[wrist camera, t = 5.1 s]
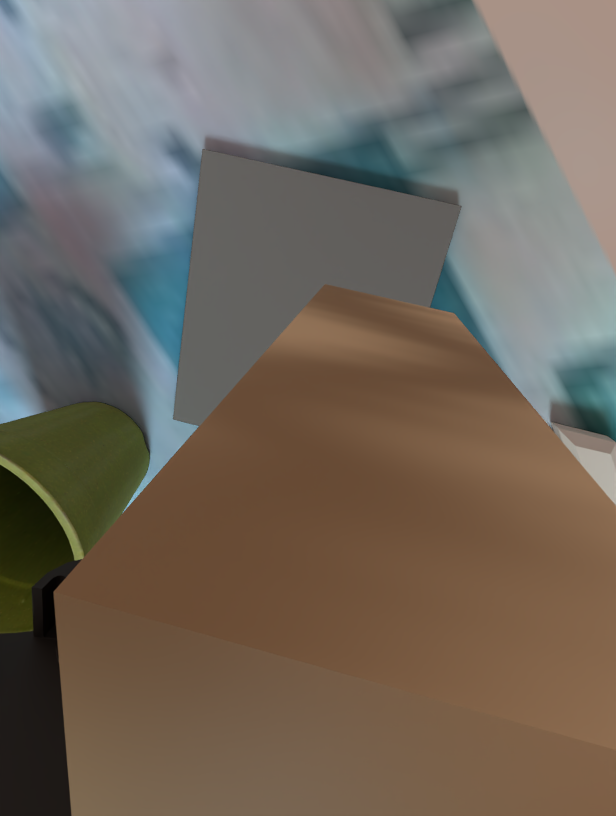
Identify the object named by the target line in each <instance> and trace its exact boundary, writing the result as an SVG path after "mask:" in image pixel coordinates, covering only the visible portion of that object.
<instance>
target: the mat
mask: <svg viewBox="0 0 616 816" xmlns="http://www.w3.org/2000/svg"><path fill="white" fill-rule="evenodd" d="M460 210H461V206H459V205H454V204H450V203H445V202H441V201H436V200H432V199H427V198H423V197H418V196H414V195H409V194H405V193H400V192H396V191H391V190H386V189H382V188H377V187H373V186H368V185H364V184H359V183H355V182H350V181H346V180H341V179H337V178H332V177H328V176H323V175H318V174H314V173H309V172H305V171H300V170H296V169H291V168H287V167H282V166H278V165H273V164H269V163H264V162H260V161H255V160H250V159H246V158H241V157H237V156H232V155H228V154H223V153H219V152H214V151H210V150H205V149H203V150H202V159H201V168H200V178H199V187H198V196H197V205H196V214H195V223H194V232H193V241H192V251H191V260H190V269H189V278H188V287H187V296H186V305H185V314H184V324H183V333H182V342H181V351H180V360H179V369H178V378H177V388H176V397H175V406H174V415H173V419H174V420H177V421H181V422H185V423H189V424H193V425H197V426H200V425H201V424H202V423H203V422H204V421H205V419H206V418H207V417H208V416H209V415H210V414H211V413H212V412H213V410H214V409H215V408H216V407H217V406H218V405H219V404H220V402H221V401H222V400H223V399H224V398H225V397H226V396H227V394H228V393H229V392H230V391H231V390H232V389H233V388H234V387H235V385H236V384H237V383H238V382H239V381H240V380H241V379H242V377H243V376H244V375H245V374H246V373H247V372H248V371H249V370H250V368H251V367H252V366H253V365H254V364H255V363H256V362H257V360H258V359H259V358H260V357H261V356H262V355H263V354H264V353H265V351H266V350H267V349H268V348H269V347H270V346H271V345H272V343H273V342H274V341H275V340H276V339H277V338H278V337H279V336H280V334H281V333H282V332H283V331H284V330H285V329H286V328H287V326H288V325H289V324H290V323H291V322H292V321H293V320H294V318H295V317H296V316H297V315H298V314H299V313H300V312H301V311H302V309H303V308H304V307H305V306H306V305H307V304H308V303H309V301H310V300H311V299H312V298H313V297H314V296H315V295H316V294H317V292H318V291H319V290H320V289H321V288H322V287H323V286H324V284H328V285H332V286H336V287H341V288H345V289H349V290H354V291H358V292H363V293H367V294H371V295H376V296H380V297H385V298H389V299H393V300H398V301H402V302H407V303H411V304H415V305H420V306H424V307H428V308H430V306H431V302H432V299H433V296H434V293H435V290H436V286H437V283H438V280H439V277H440V274H441V270H442V267H443V264H444V261H445V258H446V254H447V251H448V248H449V245H450V242H451V238H452V235H453V232H454V229H455V226H456V222H457V219H458V216H459V213H460Z"/></svg>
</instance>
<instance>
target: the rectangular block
mask: <svg viewBox="0 0 616 816" xmlns="http://www.w3.org/2000/svg"><path fill="white" fill-rule="evenodd" d="M53 593H54V605H55V617H56V630H57V642H58V654H59V667H60V679H61V691H62V704H63V716H64V728H65V741H66V753H67V766H68V778H69V790H70V803H71V815H72V816H616V505H615V504H614V503H613V502H612V500H611V499H610V498H609V497H608V496H607V494H606V493H605V492H604V491H603V490H602V489H601V487H600V486H599V485H598V484H597V483H596V481H595V480H594V479H593V478H592V477H591V475H590V474H589V473H588V472H587V471H586V470H585V468H584V467H583V466H582V465H581V464H580V462H579V461H578V460H577V459H576V458H575V456H574V455H573V454H572V453H571V452H570V450H569V449H568V448H567V447H566V446H565V445H564V443H563V442H562V441H561V440H560V439H559V437H558V436H557V435H556V434H555V433H554V431H553V430H552V429H551V428H550V427H549V426H548V424H547V423H546V422H545V421H544V420H543V418H542V417H541V416H540V415H539V414H538V412H537V411H536V410H535V409H534V408H533V407H532V405H531V404H530V403H529V402H528V401H527V399H526V398H525V397H524V396H523V395H522V393H521V392H520V391H519V390H518V389H517V388H516V386H515V385H514V384H513V383H512V382H511V380H510V379H509V378H508V377H507V376H506V374H505V373H504V372H503V371H502V370H501V369H500V367H499V366H498V365H497V364H496V363H495V361H494V360H493V359H492V358H491V357H490V355H489V354H488V353H487V352H486V351H485V350H484V348H483V347H482V346H481V345H480V344H479V342H478V341H477V340H476V339H475V338H474V336H473V335H472V334H471V333H470V332H469V331H468V329H467V328H466V327H465V326H464V325H463V323H462V322H461V321H460V320H459V319H458V317H457V316H456V315H455V314H454V313H450V312H446V311H442V310H437V309H433V308H428V307H424V306H420V305H415V304H411V303H407V302H402V301H398V300H393V299H389V298H385V297H380V296H376V295H371V294H367V293H363V292H358V291H354V290H349V289H345V288H341V287H336V286H332V285H328V284H324V286H323V287H322V288H321V289H320V290H319V291H318V292H317V294H316V295H315V296H314V297H313V298H312V299H311V300H310V301H309V303H308V304H307V305H306V306H305V307H304V308H303V309H302V311H301V312H300V313H299V314H298V315H297V316H296V317H295V318H294V320H293V321H292V322H291V323H290V324H289V325H288V326H287V328H286V329H285V330H284V331H283V332H282V333H281V334H280V336H279V337H278V338H277V339H276V340H275V341H274V342H273V343H272V345H271V346H270V347H269V348H268V349H267V350H266V351H265V353H264V354H263V355H262V356H261V357H260V358H259V359H258V360H257V362H256V363H255V364H254V365H253V366H252V367H251V368H250V370H249V371H248V372H247V373H246V374H245V375H244V376H243V377H242V379H241V380H240V381H239V382H238V383H237V384H236V385H235V387H234V388H233V389H232V390H231V391H230V392H229V393H228V394H227V396H226V397H225V398H224V399H223V400H222V401H221V402H220V404H219V405H218V406H217V407H216V408H215V409H214V410H213V412H212V413H211V414H210V415H209V416H208V417H207V418H206V419H205V421H204V422H203V423H202V424H201V425H200V426H199V427H198V429H197V430H196V431H195V432H194V433H193V434H192V435H191V436H190V438H189V439H188V440H187V441H186V442H185V443H184V444H183V446H182V447H181V448H180V449H179V450H178V451H177V452H176V453H175V455H174V456H173V457H172V458H171V459H170V460H169V461H168V463H167V464H166V465H165V466H164V467H163V468H162V469H161V470H160V472H159V473H158V474H157V475H156V476H155V477H154V478H153V480H152V481H151V482H150V483H149V484H148V485H147V486H146V488H145V489H144V490H143V491H142V492H141V493H140V494H139V495H138V497H137V498H136V499H135V500H134V501H133V502H132V503H131V505H130V506H129V507H128V508H127V509H126V510H125V511H124V512H123V514H122V515H121V516H120V517H119V518H118V519H117V520H116V522H115V523H114V524H113V525H112V526H111V527H110V528H109V529H108V531H107V532H106V533H105V534H104V535H103V536H102V537H101V539H100V540H99V541H98V542H97V543H96V544H95V545H94V546H93V548H92V549H91V550H90V551H89V552H88V553H87V554H86V556H85V557H84V558H83V559H82V560H81V561H80V562H79V564H78V565H77V566H76V567H75V568H74V569H73V570H72V571H71V573H70V574H69V575H68V576H67V577H66V578H65V579H64V581H63V582H62V583H61V584H60V585H59V586H58V587H57V588H56V590H55V591H54V592H53Z"/></svg>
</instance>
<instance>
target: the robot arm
mask: <svg viewBox="0 0 616 816" xmlns="http://www.w3.org/2000/svg"><path fill="white" fill-rule="evenodd" d="M81 560H82V559H80V560H75V561H71V562H67V563H65V564H63V565H62V566H60V567H58V568H56V569H54V570H52V571H50V572H48V573H47V574H45V575H44V576H43V577H42V578H41V579H40V580H39V581H38V582H37V583H36V584H35V585H34V586H32V612H33V631H27V632H18V633H0V816H72V815H71V803H70V790H69V778H68V766H67V753H66V741H65V728H64V716H63V704H62V691H61V679H60V667H59V654H58V642H57V630H56V617H55V605H54V593H53V592H54V591H55V590H56V588H57V587H58V586H59V585H60V584H61V583H62V582H63V581H64V579H65V578H66V577H67V576H68V575H69V574H70V573H71V571H72V570H73V569H74V568H75V567H76V566H77V565H78V564H79V562H80V561H81Z"/></svg>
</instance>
